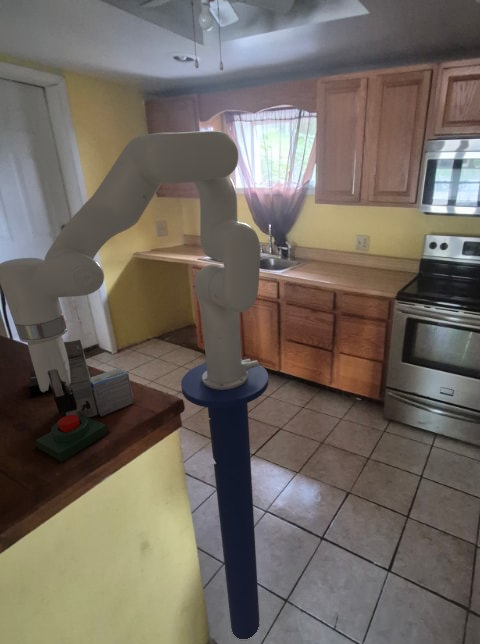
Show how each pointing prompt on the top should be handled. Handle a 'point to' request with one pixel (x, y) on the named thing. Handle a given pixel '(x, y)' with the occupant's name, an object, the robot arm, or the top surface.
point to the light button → (68, 423)
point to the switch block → (71, 438)
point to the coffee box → (80, 381)
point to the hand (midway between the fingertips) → (68, 409)
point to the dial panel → (36, 386)
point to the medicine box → (112, 391)
